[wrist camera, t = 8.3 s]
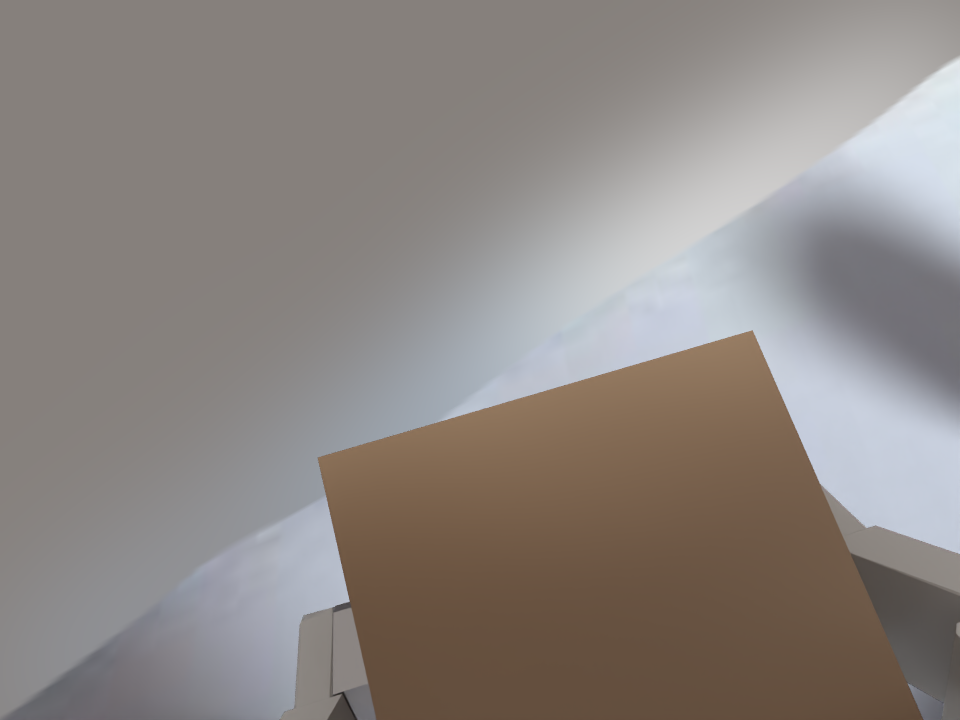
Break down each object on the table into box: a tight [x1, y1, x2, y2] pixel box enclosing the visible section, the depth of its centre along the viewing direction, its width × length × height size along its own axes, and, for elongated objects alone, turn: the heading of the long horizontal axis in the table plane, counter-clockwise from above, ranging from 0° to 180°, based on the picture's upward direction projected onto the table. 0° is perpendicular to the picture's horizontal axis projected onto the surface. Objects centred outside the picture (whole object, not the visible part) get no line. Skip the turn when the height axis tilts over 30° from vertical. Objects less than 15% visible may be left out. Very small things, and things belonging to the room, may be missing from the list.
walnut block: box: [318, 330, 923, 720], centre depth 11 cm, size 5×5×9 cm
